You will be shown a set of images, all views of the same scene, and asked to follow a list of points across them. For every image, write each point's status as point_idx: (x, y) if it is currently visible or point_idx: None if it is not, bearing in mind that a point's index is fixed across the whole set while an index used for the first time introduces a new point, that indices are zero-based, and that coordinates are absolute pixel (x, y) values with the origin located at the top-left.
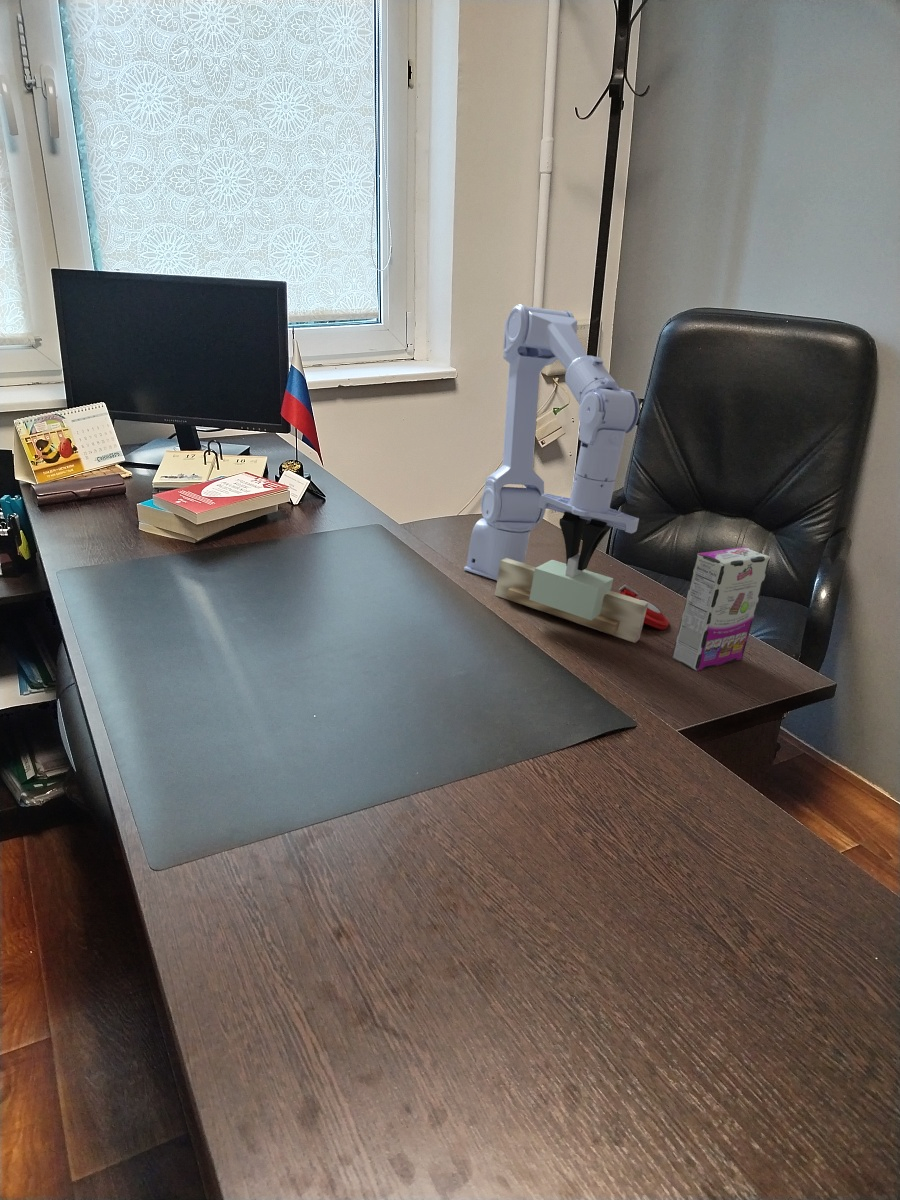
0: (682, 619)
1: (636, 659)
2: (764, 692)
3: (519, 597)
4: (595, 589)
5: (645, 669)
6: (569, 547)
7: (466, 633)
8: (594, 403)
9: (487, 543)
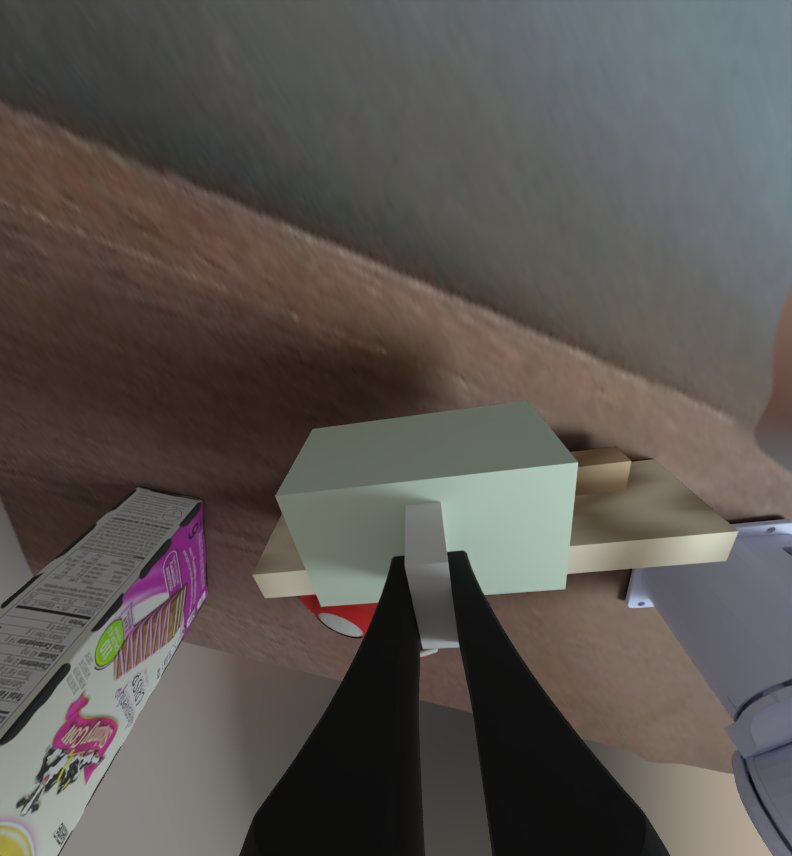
0: (137, 572)
1: (227, 435)
2: (33, 509)
3: (582, 458)
4: (288, 489)
5: (179, 407)
6: (476, 632)
7: (613, 119)
8: None
9: None
